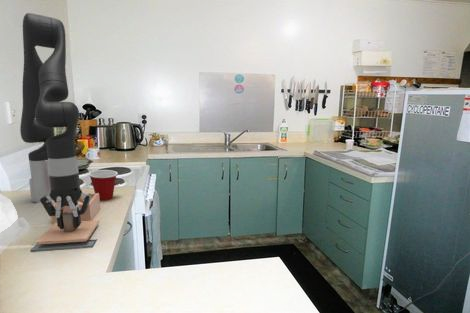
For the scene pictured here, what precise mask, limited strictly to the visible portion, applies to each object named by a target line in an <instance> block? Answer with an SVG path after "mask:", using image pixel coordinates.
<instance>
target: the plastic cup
mask: <svg viewBox="0 0 470 313" xmlns="http://www.w3.org/2000/svg"><path fill="white" fill-rule="evenodd" d="M88 176H89V177H90V181H91V183H92V187H93V190H94V193H99V198H100V202H104V201H110V200H112V199H114V192H115V184H116V178H117V177H118V171H116V170H111V169H100V170H99V169H97V170H93V171H90V172H89V173H88Z"/></svg>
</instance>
